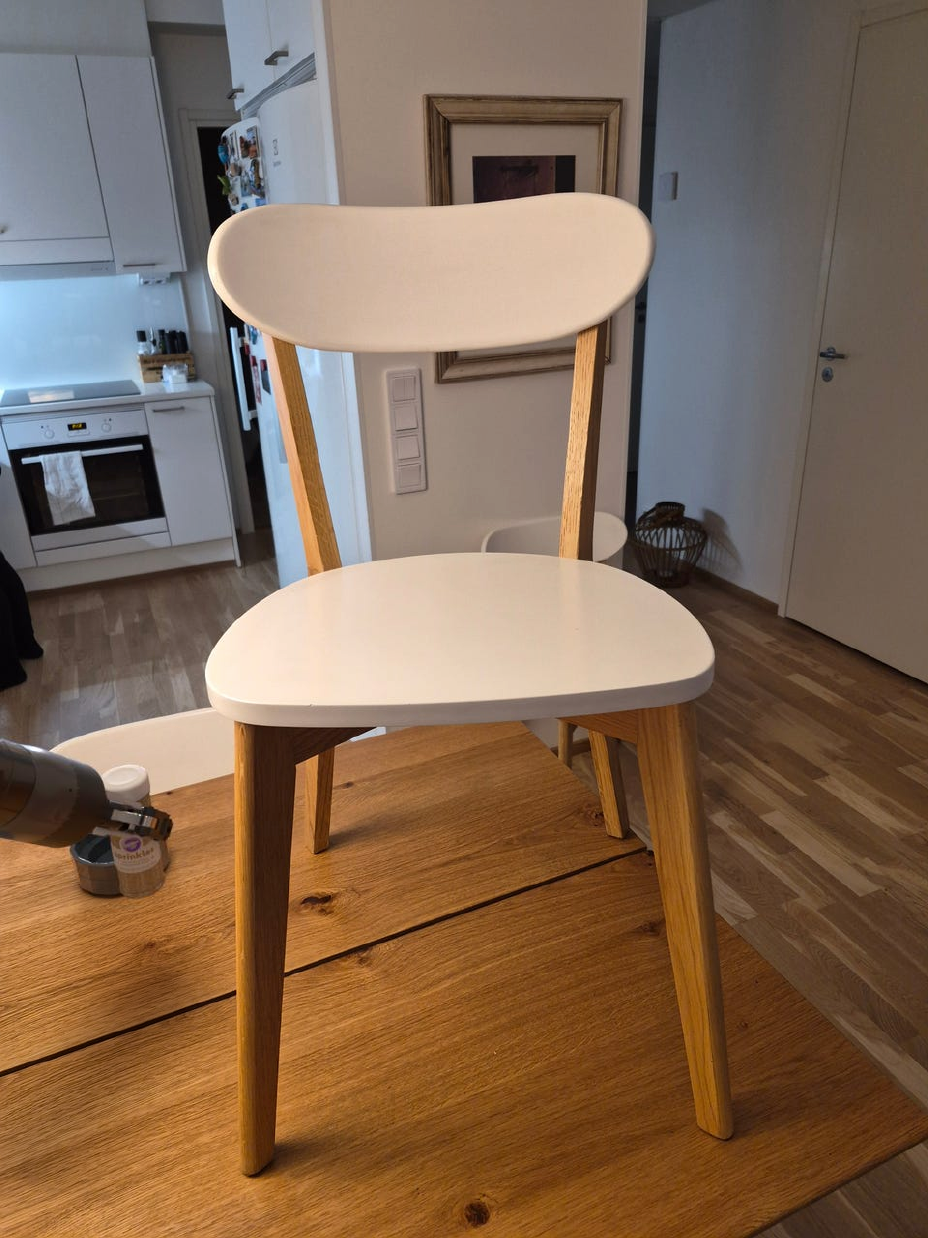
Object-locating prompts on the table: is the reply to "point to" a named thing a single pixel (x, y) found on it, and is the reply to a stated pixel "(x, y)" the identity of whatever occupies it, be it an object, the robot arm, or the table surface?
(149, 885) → the sprinkles bottle
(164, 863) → the bowl
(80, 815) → the robot arm
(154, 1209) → the table surface
